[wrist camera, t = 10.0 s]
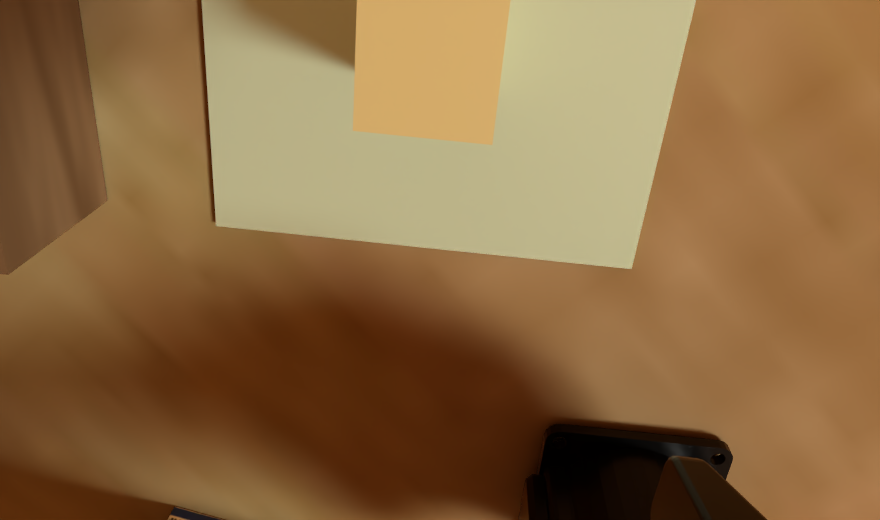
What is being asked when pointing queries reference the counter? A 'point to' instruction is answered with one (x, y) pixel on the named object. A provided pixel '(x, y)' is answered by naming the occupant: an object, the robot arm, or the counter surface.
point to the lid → (443, 120)
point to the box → (44, 128)
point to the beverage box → (188, 515)
